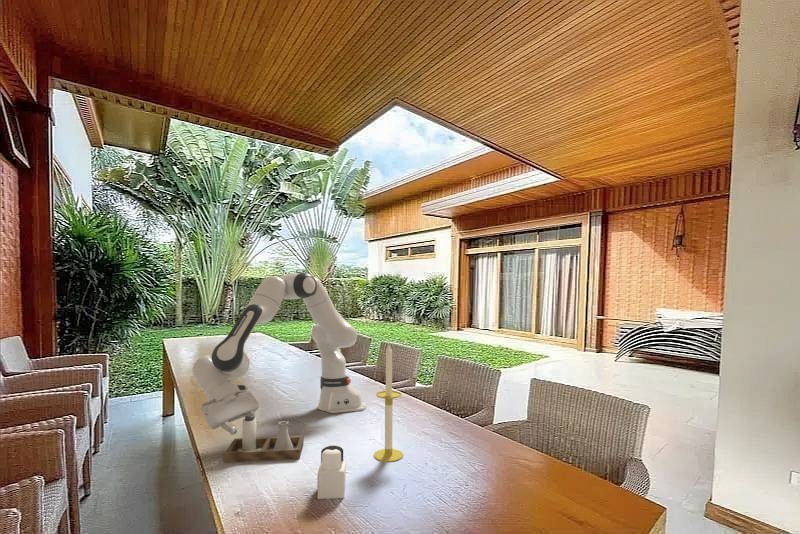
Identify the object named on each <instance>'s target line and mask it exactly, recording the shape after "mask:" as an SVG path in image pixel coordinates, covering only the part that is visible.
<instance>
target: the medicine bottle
mask: <svg viewBox="0 0 800 534" xmlns="http://www.w3.org/2000/svg"><path fill="white" fill-rule="evenodd" d="M320 453H321V454H320V463H319V465H318V466H319V467H318V470H317V490H316V491H317V495H316V496H317V500H327V499H328V500H332V499H333V500H334V499H344V498H345V493H346V474H347V472H346V469H347V467H346V466H347V465H346V462H347V461H346V460H344V448H342V447H341V446H339V445H328V446H326V447H323V448H322V449H321V452H320Z"/></svg>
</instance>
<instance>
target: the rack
mask: <svg viewBox="0 0 800 534" xmlns="http://www.w3.org/2000/svg"><path fill="white" fill-rule="evenodd" d="M277 437H278V436H267V437H266V436H265V437H256V450H253V451H242V438H239V437H238V438H234V439H233V440H232V442H231V443H230V444H229V446H228V448H227V449H226V450H225V452H224V453H223V454H224V455H223V458H224V459H223V463H225V464H227V463H229V464H231V463H247V462H248V463H249V462H251V463H252V462H265V461H266V462H267V461H269V462H271V461H284V460H285V461H286V460H288V461H289V460H300V459H301V456H302V451H303V447H304V445H305V443H304V440H305V438H304V437H305V436H304V435H289V437H290V440H291V442H292V445H293V447H296V448H294V449H274V446H275V443H276V440H277ZM271 448H273V449H274V450H273V449H271Z"/></svg>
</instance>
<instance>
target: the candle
mask: <svg viewBox="0 0 800 534" xmlns="http://www.w3.org/2000/svg"><path fill="white" fill-rule="evenodd" d="M387 345H388V346H387V348H386V350H385V390H382V391H378V392H376V397H377V398H380V399H384V448H383V449H379V450H376V451H375V452H374V454H373V458H374V460H377V461H380V462H383V463H384V462H385V463H393V462H397V461H400V460H401V459H404V458H403V457H404V453H403V451H401V450H399V449H395V448H393V406H394V405H393V399H398V398H401V396H402V393H401V392H399V391H396V390H393V350H392V348H391V344H387Z"/></svg>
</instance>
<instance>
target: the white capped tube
mask: <svg viewBox="0 0 800 534" xmlns="http://www.w3.org/2000/svg"><path fill="white" fill-rule="evenodd" d="M256 421H257V418H256V417H255V418H254V415H246V416H244V418H243V419H242V430H241V431H242V435H241V437H242V451H253V450H256V438H257V423H256Z"/></svg>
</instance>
